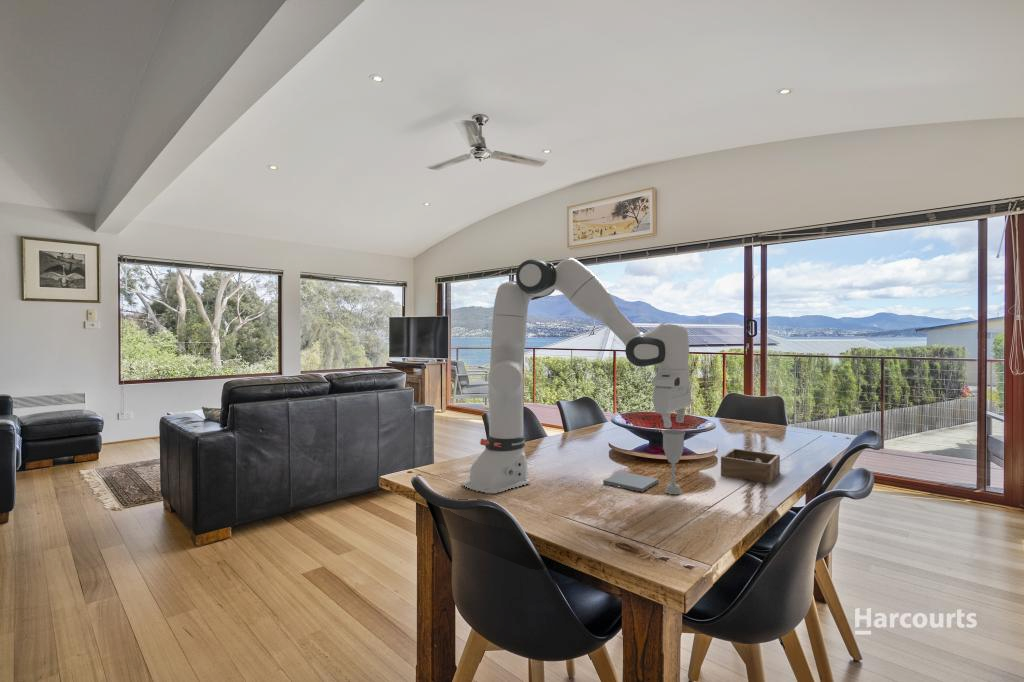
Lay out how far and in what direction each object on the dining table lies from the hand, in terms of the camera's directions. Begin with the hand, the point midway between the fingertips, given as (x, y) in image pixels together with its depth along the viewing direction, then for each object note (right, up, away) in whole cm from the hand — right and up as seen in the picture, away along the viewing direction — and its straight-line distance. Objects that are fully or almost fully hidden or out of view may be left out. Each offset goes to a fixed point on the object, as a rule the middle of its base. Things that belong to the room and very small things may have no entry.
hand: (674, 424), depth 143 cm
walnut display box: (+32, -20, +18) cm, 41 cm away
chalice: (0, -20, 0) cm, 20 cm away
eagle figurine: (+31, -20, +17) cm, 41 cm away
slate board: (-11, -20, +9) cm, 24 cm away
